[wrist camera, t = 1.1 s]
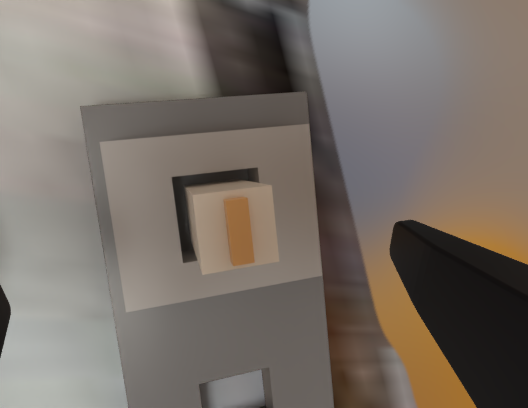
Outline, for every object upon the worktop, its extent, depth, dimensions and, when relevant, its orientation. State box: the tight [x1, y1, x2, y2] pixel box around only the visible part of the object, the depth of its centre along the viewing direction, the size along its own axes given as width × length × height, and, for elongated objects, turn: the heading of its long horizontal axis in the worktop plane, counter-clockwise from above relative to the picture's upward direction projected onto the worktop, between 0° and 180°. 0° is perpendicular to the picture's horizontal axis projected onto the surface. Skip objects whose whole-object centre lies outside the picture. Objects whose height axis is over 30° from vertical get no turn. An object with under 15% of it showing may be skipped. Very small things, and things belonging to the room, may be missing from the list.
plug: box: [184, 179, 279, 275], centre depth 17 cm, size 3×3×8 cm
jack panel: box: [80, 92, 334, 408], centre depth 22 cm, size 24×12×5 cm, turn 6°
